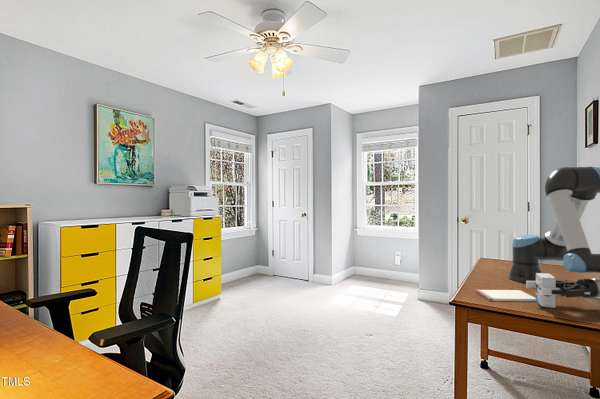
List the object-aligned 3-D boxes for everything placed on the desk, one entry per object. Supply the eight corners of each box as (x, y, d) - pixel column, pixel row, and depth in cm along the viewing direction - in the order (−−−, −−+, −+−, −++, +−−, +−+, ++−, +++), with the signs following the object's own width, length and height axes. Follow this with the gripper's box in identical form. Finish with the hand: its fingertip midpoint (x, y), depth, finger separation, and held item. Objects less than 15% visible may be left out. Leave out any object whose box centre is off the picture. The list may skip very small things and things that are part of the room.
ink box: (535, 300, 143) (535, 272, 143) (549, 301, 141) (549, 273, 141) (541, 306, 135) (541, 277, 135) (556, 308, 133) (556, 278, 133)
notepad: (519, 292, 157) (520, 289, 157) (537, 301, 144) (537, 298, 144) (475, 291, 159) (475, 289, 159) (489, 300, 146) (489, 298, 146)
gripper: (615, 306, 126) (552, 306, 127) (571, 289, 148) (518, 288, 149) (615, 286, 126) (552, 286, 127) (572, 272, 148) (518, 271, 149)
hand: (534, 287), depth 138 cm, fingers closed on ink box, 9 cm apart
